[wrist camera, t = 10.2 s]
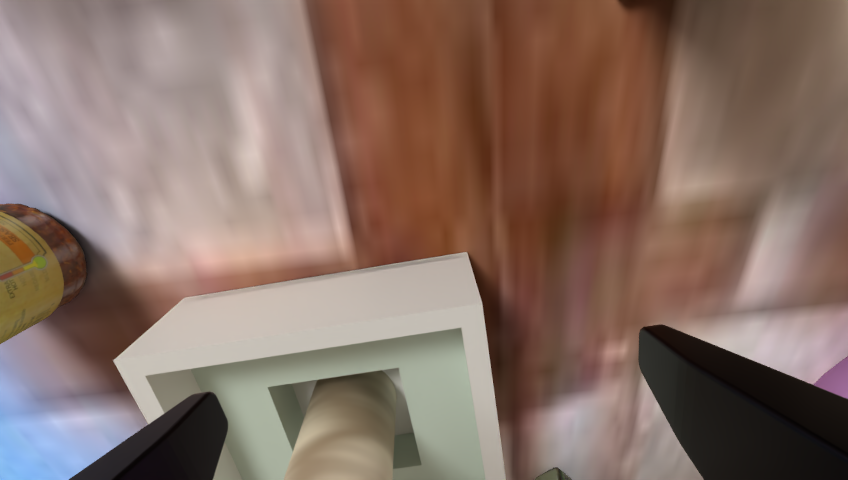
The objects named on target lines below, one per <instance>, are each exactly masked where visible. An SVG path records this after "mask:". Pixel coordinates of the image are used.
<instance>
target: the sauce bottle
mask: <svg viewBox="0 0 848 480" xmlns="http://www.w3.org/2000/svg"><path fill="white" fill-rule="evenodd" d="M86 276H87V272H86V261H85V256H84V253H83V250H82V248H81V246H80V244H79V243H78V242H77V241H76V238H74V237H73V236H72V235H71V234H70V232H69V231H68V230H67V229H66V228H65V227H63V226H62V225H61V224H60V223H58V222H57V221H56V220H55V219H53V218H52V217H51V216H49V215H47V214H45V213H43V212H40V211H39V210H38V209H36V208H30V207H28V206H25V205H22V204H0V344H1V343H3V342H5V341H6V340H8V339H10V338H12V337H13V336H15V335H17V334H19V333H20V332H22V331H24V330H26V329H27V328H29V327H31V326H33V325H35V324H36V323H38V322H40V321H42V320H44V319H45V318H47V317H48V316H49V315H50V314H51V313H53V312H54V310H55V309H56V308H58V307H59V306H61V305H63V304H66V303H68V302H70V301H71V300H72V299H73V298H74V297H75V296H77V295H78V294H79V292H80V290H81V289H82V287H83V286H84V284H85V279H86Z"/></svg>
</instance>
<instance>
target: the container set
mask: <svg viewBox="0 0 848 480" xmlns="http://www.w3.org/2000/svg"><path fill="white" fill-rule="evenodd" d="M814 386H817V387H819V388H822V389H824V390H827V391H829V392H832V393H834V394H837V395H839V396H842V397H844V398H847V399H848V357H846V358H845V359H843V360H842V361H841V362H839V363H838V364H837V365H835V366H834V367H833V368H831V369H830V370H829V371H827V372H826V373H825V374H824V375H823V376H822V377H821V378H820V379H819V380H818V381H817V382H816V383H815V384H814Z"/></svg>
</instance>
